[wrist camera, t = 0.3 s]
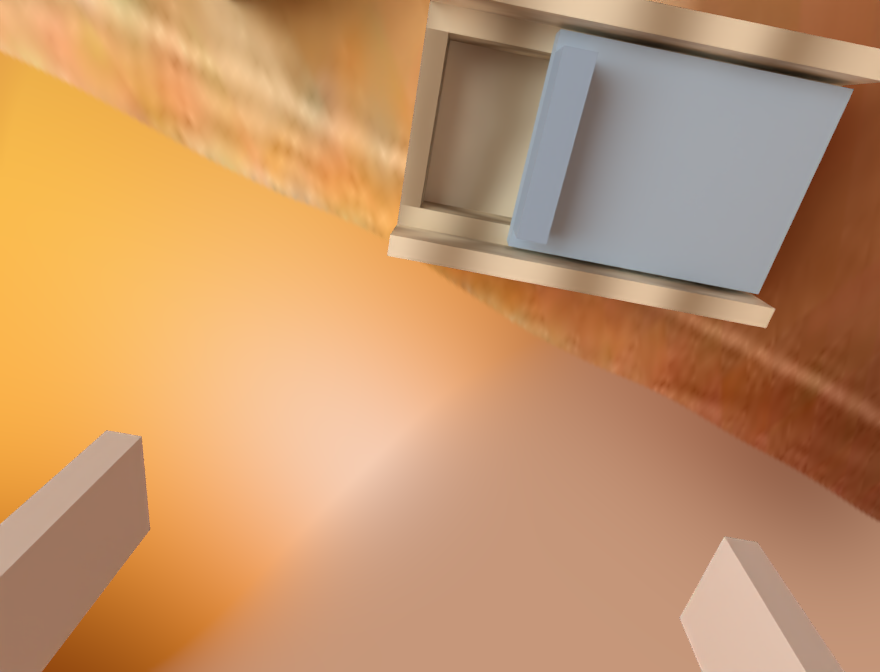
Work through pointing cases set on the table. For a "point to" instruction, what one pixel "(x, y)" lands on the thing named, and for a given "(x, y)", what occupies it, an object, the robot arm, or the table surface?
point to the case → (513, 117)
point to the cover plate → (669, 161)
